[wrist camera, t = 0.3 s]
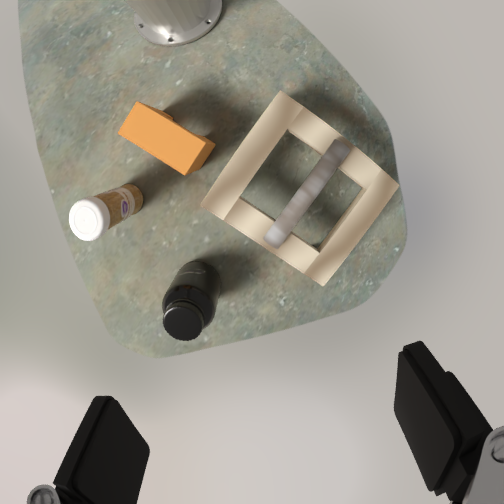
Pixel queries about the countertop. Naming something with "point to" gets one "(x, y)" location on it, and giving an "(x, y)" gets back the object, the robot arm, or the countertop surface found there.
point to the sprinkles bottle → (104, 211)
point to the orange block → (166, 138)
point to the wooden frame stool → (300, 190)
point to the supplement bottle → (191, 301)
